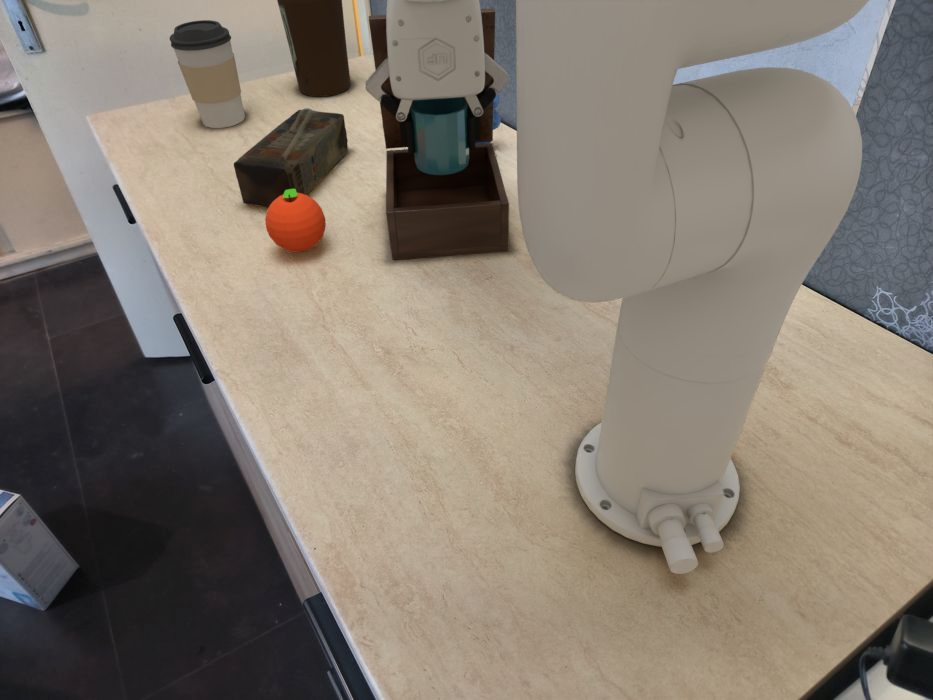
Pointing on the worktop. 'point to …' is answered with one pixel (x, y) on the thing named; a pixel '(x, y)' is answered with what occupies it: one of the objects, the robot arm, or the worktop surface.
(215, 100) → the coffee cup
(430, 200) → the brown wooden box
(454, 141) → the cup
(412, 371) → the worktop surface
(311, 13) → the olive oil
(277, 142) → the beverage carton
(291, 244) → the clementine
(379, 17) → the lid
